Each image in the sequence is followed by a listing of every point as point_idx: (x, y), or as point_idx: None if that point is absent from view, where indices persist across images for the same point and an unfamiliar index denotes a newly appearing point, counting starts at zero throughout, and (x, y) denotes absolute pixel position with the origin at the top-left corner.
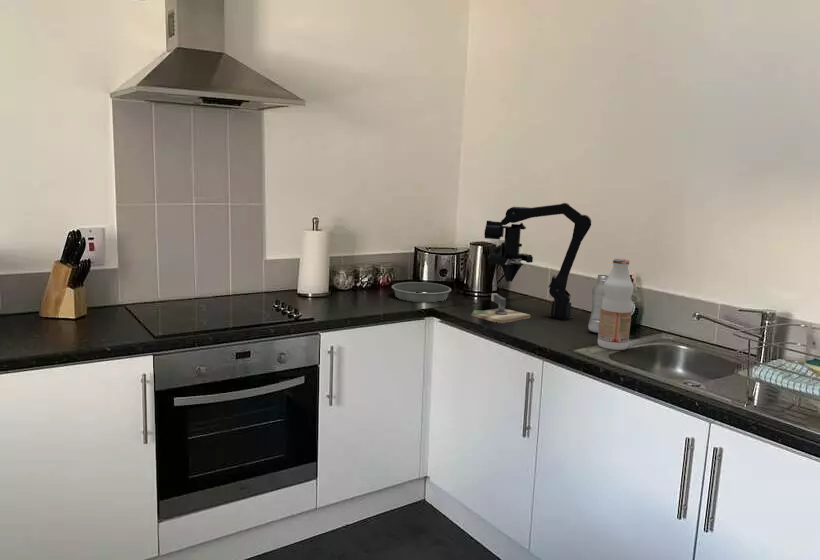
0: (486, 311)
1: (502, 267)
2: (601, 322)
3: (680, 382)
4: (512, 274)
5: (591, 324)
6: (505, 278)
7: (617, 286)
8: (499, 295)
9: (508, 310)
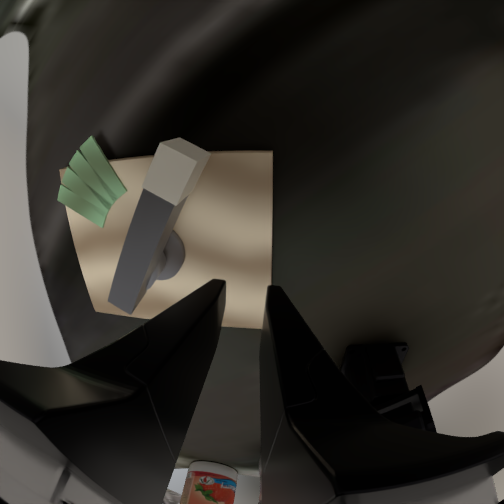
0: (116, 189)
1: (64, 377)
2: (182, 495)
3: (167, 490)
4: (261, 380)
5: (259, 464)
6: (194, 291)
7: None
8: (164, 225)
9: (251, 220)
